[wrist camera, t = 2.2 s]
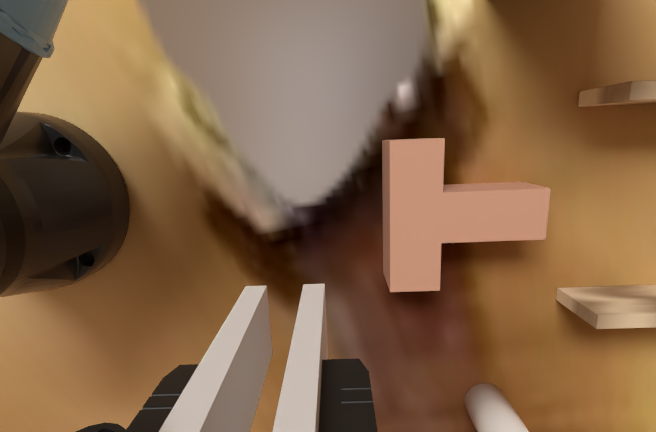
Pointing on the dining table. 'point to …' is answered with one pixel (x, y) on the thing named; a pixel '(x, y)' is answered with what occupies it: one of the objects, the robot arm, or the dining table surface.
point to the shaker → (492, 410)
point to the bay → (614, 301)
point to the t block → (445, 212)
